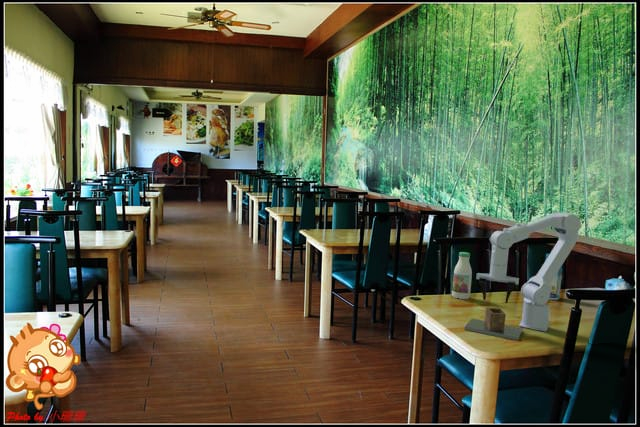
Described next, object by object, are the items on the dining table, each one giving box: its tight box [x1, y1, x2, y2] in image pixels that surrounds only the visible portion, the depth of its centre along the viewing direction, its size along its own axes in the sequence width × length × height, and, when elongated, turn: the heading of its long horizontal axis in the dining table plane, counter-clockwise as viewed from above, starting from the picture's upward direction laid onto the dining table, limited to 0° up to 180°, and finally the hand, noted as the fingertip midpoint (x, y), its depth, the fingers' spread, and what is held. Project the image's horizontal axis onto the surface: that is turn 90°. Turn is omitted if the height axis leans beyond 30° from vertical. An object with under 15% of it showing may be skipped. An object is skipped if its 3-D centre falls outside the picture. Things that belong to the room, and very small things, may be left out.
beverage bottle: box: [545, 253, 563, 301], centre depth 242 cm, size 8×8×20 cm
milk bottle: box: [451, 251, 473, 300], centre depth 232 cm, size 8×8×20 cm
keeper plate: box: [464, 318, 524, 342], centre depth 188 cm, size 18×12×5 cm, turn 62°
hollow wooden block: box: [484, 307, 507, 331], centre depth 187 cm, size 5×7×6 cm
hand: (495, 300), depth 193 cm, fingers open, 7 cm apart
